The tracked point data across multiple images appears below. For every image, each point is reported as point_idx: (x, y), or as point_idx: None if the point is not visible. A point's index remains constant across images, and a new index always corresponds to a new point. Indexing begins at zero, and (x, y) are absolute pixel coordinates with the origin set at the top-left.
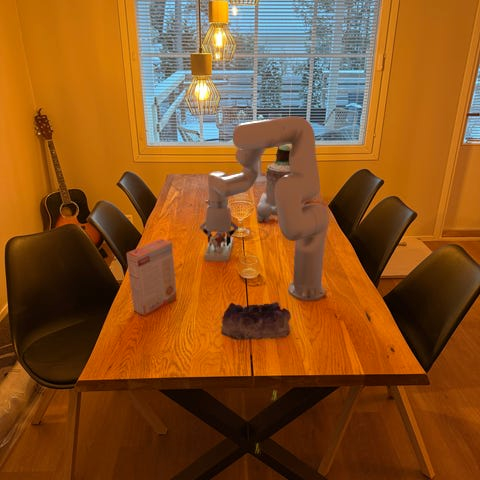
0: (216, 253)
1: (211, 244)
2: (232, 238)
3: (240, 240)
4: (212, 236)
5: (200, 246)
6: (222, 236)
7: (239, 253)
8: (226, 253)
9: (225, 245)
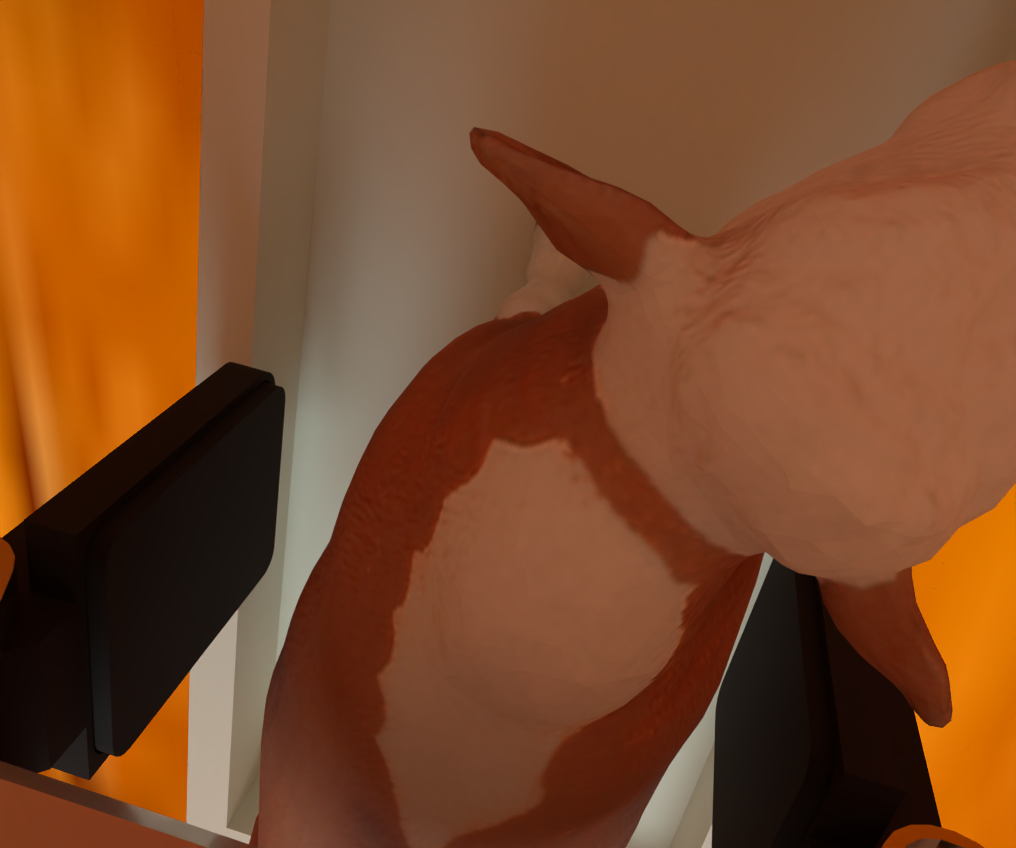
0: None
1: (772, 572)
2: (193, 797)
3: (124, 780)
4: (872, 439)
5: (985, 782)
6: (286, 690)
7: (73, 216)
8: (365, 165)
9: None
